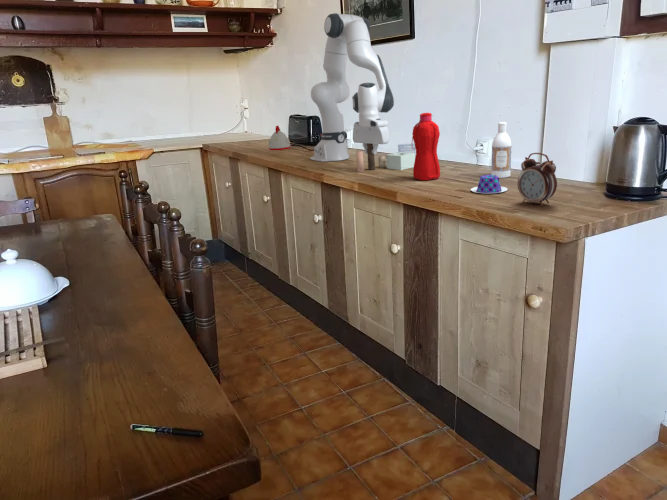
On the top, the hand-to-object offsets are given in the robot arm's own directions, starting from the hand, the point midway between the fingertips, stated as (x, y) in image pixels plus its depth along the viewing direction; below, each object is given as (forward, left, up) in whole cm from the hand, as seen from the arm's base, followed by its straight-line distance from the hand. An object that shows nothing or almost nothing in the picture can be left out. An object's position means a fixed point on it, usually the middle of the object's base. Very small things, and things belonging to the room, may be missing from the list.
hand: (370, 153), depth 229 cm
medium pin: (0, -6, -7) cm, 10 cm away
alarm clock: (+91, -18, -7) cm, 93 cm away
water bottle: (+36, -5, -7) cm, 37 cm away
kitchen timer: (-114, +25, -7) cm, 117 cm away
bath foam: (+58, +13, -7) cm, 60 cm away
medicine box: (+2, +21, -7) cm, 22 cm away
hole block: (+9, +10, -7) cm, 15 cm away
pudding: (+69, -10, -8) cm, 70 cm away
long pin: (0, 0, -7) cm, 7 cm away
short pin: (0, +7, -7) cm, 10 cm away
